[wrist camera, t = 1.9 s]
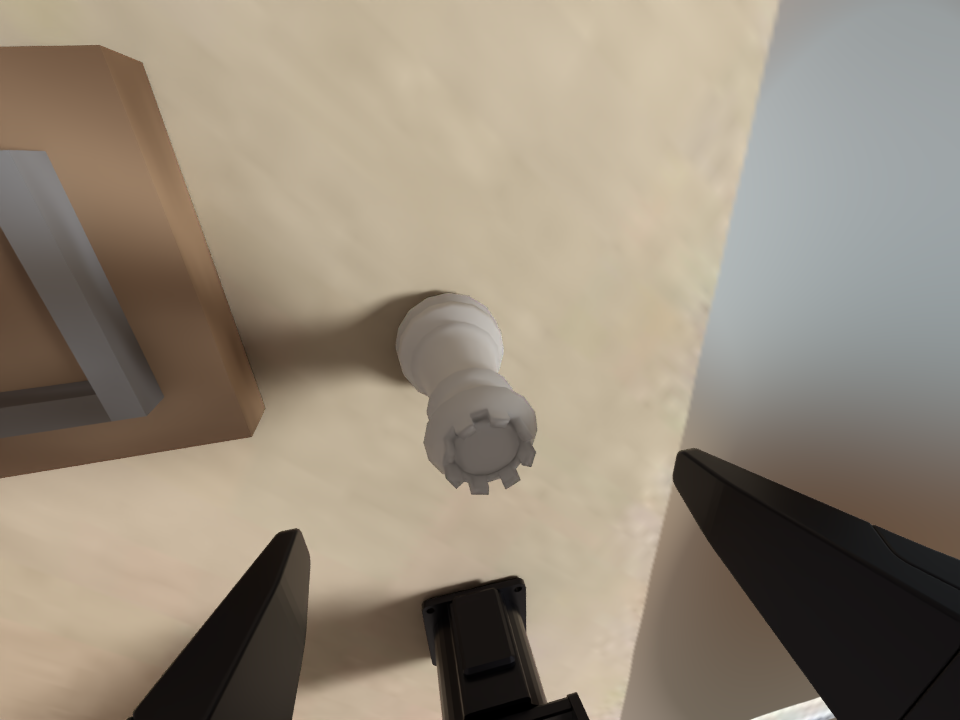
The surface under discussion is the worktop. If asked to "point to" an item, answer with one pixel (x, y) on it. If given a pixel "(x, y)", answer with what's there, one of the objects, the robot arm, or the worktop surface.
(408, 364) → the rook chess piece
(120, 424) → the plinth
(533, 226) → the worktop surface
